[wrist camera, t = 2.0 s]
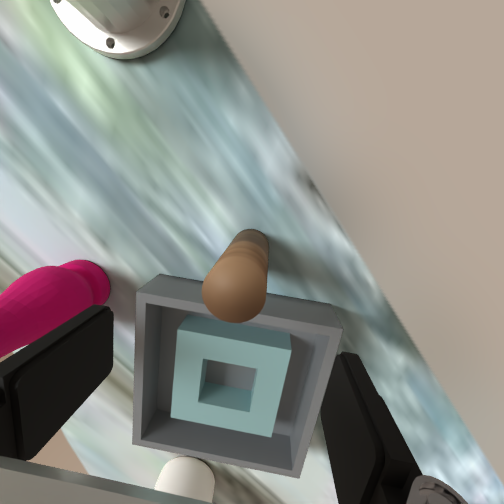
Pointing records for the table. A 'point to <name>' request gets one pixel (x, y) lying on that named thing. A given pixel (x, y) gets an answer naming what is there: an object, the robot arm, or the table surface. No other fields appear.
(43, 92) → the table surface
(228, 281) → the peg
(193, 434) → the tray
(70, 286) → the pepper mill
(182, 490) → the mug
